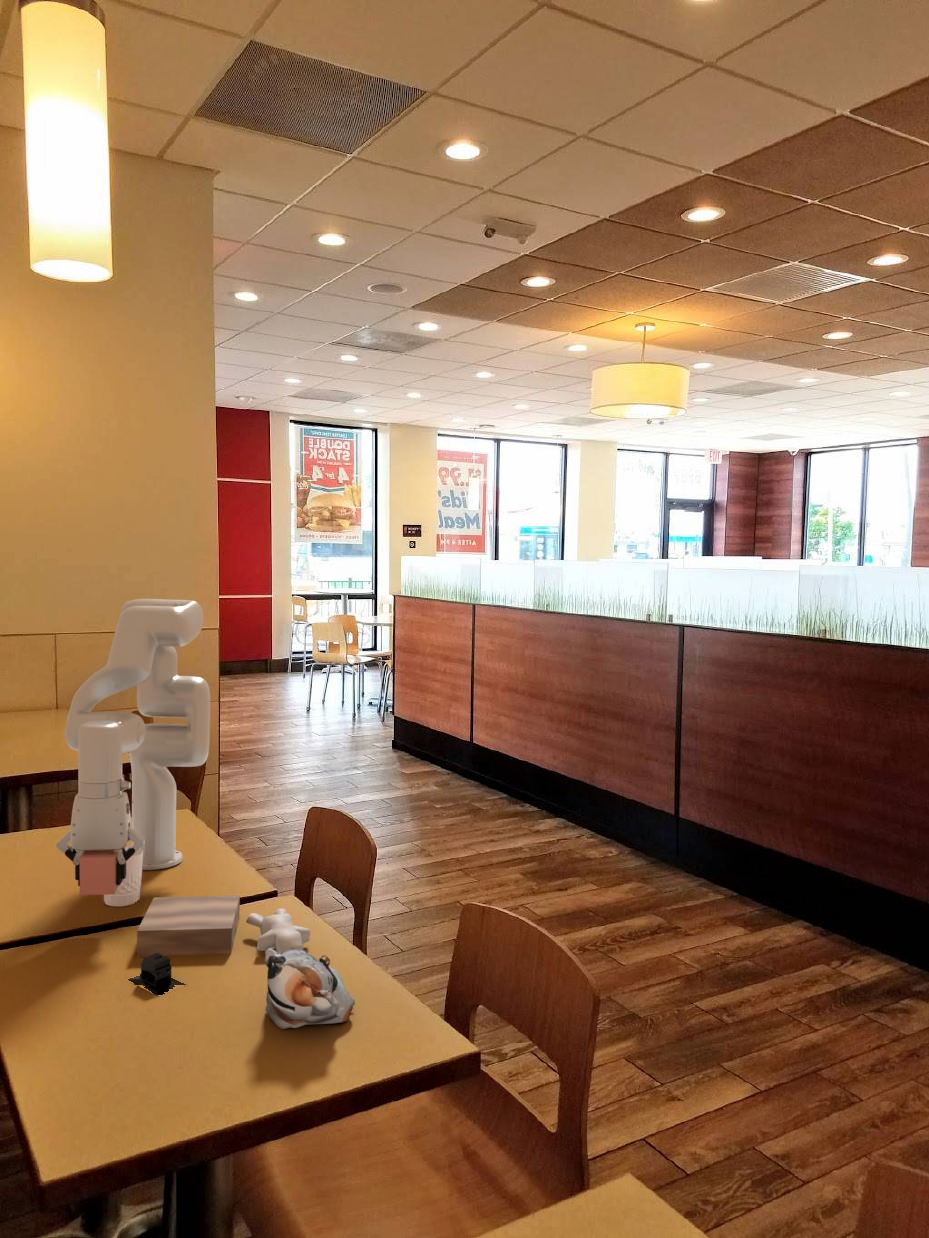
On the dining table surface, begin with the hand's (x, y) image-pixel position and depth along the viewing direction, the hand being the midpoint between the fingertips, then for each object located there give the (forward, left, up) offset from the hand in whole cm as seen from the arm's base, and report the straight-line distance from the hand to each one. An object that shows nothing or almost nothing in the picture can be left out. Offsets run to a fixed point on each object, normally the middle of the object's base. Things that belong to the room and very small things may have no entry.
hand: (100, 882), depth 172 cm
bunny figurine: (+10, +33, -9) cm, 36 cm away
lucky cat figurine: (+38, +39, -9) cm, 55 cm away
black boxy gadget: (+23, +14, -10) cm, 29 cm away
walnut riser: (+5, +17, -9) cm, 20 cm away
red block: (0, 0, -1) cm, 1 cm away
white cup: (-14, +1, -9) cm, 17 cm away
